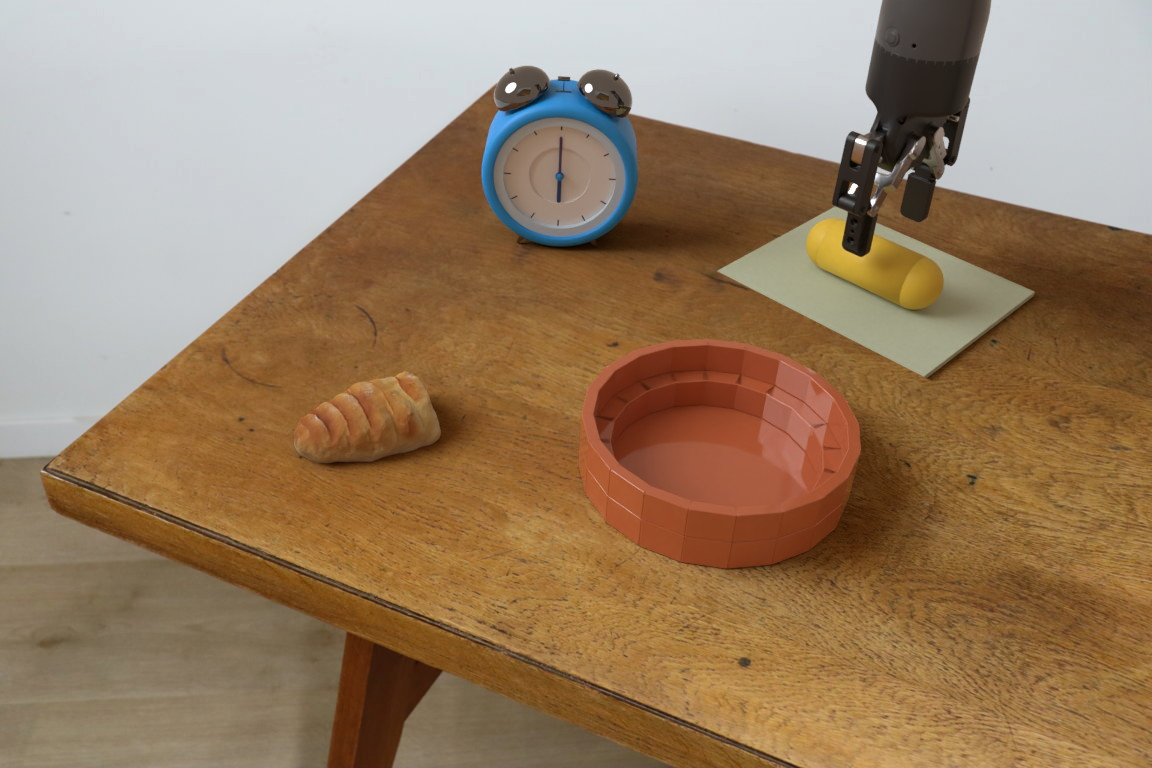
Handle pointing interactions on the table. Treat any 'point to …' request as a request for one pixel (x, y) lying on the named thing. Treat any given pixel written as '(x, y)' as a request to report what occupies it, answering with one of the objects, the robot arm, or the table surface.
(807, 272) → the mat
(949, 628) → the table surface
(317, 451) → the pastry
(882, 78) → the robot arm
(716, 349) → the bowl
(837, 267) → the yellow capsule
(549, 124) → the alarm clock
